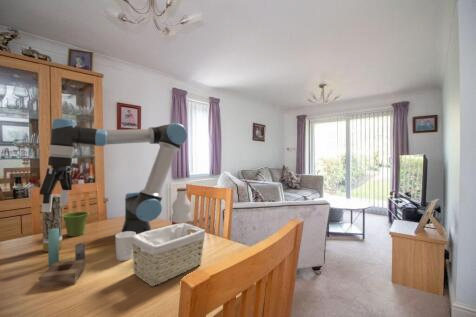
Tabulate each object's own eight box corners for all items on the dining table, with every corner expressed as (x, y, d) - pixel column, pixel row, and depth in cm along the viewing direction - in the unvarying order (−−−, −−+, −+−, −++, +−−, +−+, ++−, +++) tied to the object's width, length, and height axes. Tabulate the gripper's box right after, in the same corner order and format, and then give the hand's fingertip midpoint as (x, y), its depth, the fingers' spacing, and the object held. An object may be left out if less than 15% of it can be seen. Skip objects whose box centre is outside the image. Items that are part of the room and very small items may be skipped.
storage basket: (182, 253, 101) (182, 221, 101) (206, 265, 90) (207, 229, 90) (128, 274, 82) (129, 235, 82) (151, 292, 72) (152, 247, 72)
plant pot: (93, 233, 123) (93, 213, 123) (67, 240, 113) (67, 218, 113) (83, 229, 129) (83, 210, 129) (58, 235, 119) (58, 214, 119)
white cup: (114, 263, 90) (115, 238, 90) (115, 255, 97) (115, 232, 97) (135, 259, 94) (136, 235, 94) (135, 252, 101) (135, 230, 101)
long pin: (60, 262, 90) (60, 228, 90) (56, 265, 87) (56, 230, 87) (50, 263, 89) (50, 228, 89) (46, 267, 86) (46, 231, 86)
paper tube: (51, 253, 98) (51, 197, 98) (38, 251, 100) (39, 196, 99) (65, 247, 105) (66, 194, 105) (54, 245, 106) (54, 193, 106)
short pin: (85, 259, 93) (86, 242, 93) (83, 262, 90) (83, 245, 90) (77, 260, 92) (77, 243, 92) (74, 263, 89) (74, 246, 89)
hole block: (84, 269, 85) (84, 259, 85) (74, 284, 75) (75, 272, 75) (53, 273, 82) (53, 262, 82) (38, 289, 72) (38, 277, 72)
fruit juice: (185, 248, 105) (186, 190, 105) (167, 246, 107) (168, 189, 107) (193, 241, 115) (194, 187, 114) (176, 239, 117) (177, 186, 116)
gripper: (64, 156, 102) (59, 202, 101) (30, 154, 78) (24, 215, 77) (83, 157, 104) (78, 203, 103) (56, 156, 80) (50, 215, 79)
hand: (55, 208), depth 90 cm, fingers open, 13 cm apart
